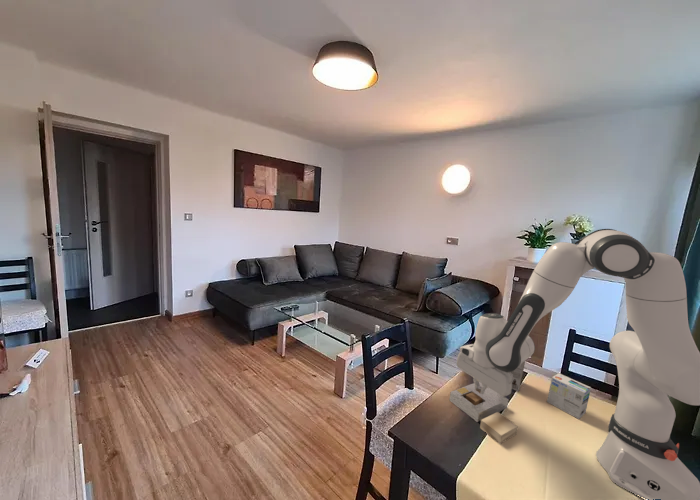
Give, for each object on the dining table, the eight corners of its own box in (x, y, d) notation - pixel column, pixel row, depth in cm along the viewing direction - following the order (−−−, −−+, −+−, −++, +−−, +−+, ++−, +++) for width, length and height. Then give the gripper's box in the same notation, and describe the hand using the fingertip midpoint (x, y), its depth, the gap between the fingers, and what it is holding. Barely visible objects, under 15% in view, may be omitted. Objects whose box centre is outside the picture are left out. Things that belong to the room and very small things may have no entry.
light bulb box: (585, 413, 107) (592, 387, 105) (579, 420, 103) (585, 392, 101) (553, 396, 115) (558, 371, 114) (545, 402, 112) (551, 376, 110)
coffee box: (504, 375, 128) (510, 341, 125) (520, 381, 124) (527, 346, 122) (501, 385, 120) (508, 349, 117) (519, 392, 116) (526, 355, 114)
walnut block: (482, 398, 104) (475, 401, 102) (481, 408, 105) (473, 411, 103) (473, 391, 108) (466, 394, 106) (471, 401, 108) (464, 404, 106)
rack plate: (507, 408, 106) (508, 399, 106) (477, 422, 98) (479, 412, 97) (478, 388, 116) (479, 380, 116) (449, 400, 108) (450, 391, 107)
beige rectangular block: (516, 434, 94) (518, 426, 93) (499, 443, 89) (501, 435, 89) (496, 419, 100) (497, 411, 99) (479, 427, 95) (481, 419, 95)
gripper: (519, 370, 96) (512, 407, 99) (467, 342, 114) (462, 374, 116) (508, 374, 93) (500, 412, 96) (456, 345, 111) (451, 378, 113)
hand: (479, 391), depth 106 cm, fingers closed
